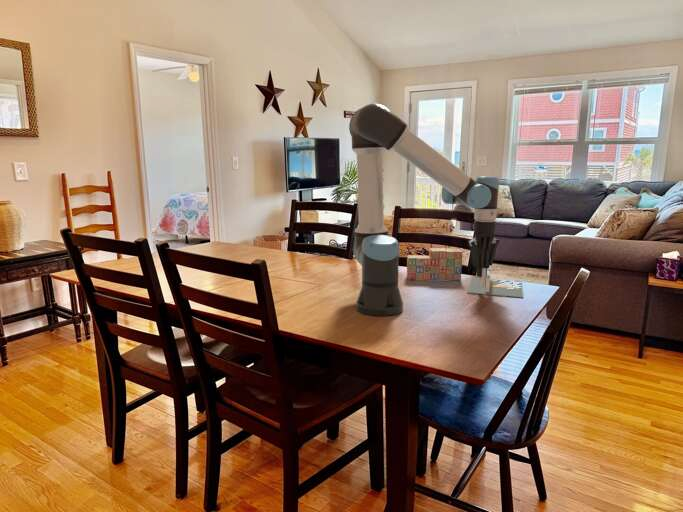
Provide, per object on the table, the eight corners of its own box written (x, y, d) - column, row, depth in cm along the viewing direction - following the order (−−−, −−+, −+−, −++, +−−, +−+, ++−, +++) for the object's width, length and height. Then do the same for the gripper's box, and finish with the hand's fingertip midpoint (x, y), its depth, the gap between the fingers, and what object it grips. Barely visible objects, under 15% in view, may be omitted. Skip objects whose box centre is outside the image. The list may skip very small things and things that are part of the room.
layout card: (522, 298, 167) (523, 296, 167) (467, 293, 173) (467, 292, 173) (521, 282, 188) (521, 281, 188) (471, 278, 194) (471, 277, 194)
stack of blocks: (407, 280, 192) (408, 250, 190) (406, 276, 198) (407, 247, 196) (461, 281, 191) (462, 251, 188) (458, 277, 197) (459, 248, 195)
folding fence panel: (490, 292, 172) (491, 275, 170) (484, 292, 172) (485, 275, 171) (489, 284, 182) (490, 269, 181) (484, 284, 183) (485, 268, 182)
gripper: (478, 222, 162) (474, 289, 166) (506, 220, 167) (501, 285, 172) (463, 220, 169) (460, 284, 173) (491, 218, 174) (487, 281, 179)
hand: (481, 285), depth 172 cm, fingers closed
